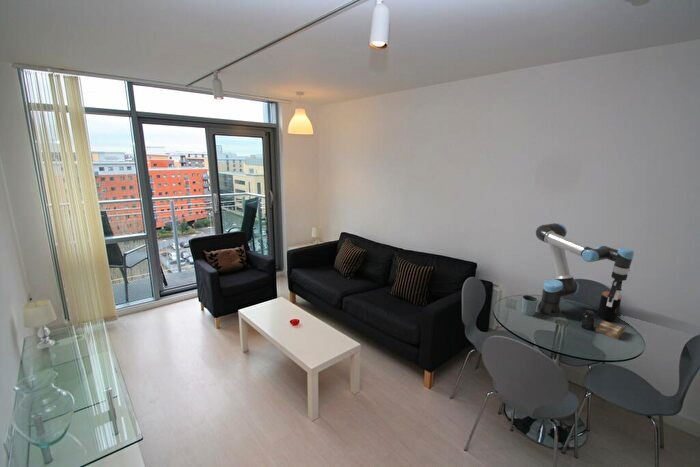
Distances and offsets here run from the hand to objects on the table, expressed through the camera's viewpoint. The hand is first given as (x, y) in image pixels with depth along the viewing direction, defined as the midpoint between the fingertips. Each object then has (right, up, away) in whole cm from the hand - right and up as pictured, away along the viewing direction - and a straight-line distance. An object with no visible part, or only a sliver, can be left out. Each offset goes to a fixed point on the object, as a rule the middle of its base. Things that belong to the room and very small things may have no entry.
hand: (611, 302), depth 207 cm
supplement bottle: (-10, -19, +8) cm, 23 cm away
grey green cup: (-39, -13, +28) cm, 50 cm away
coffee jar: (+12, -15, +20) cm, 28 cm away
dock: (+1, -20, +3) cm, 20 cm away
